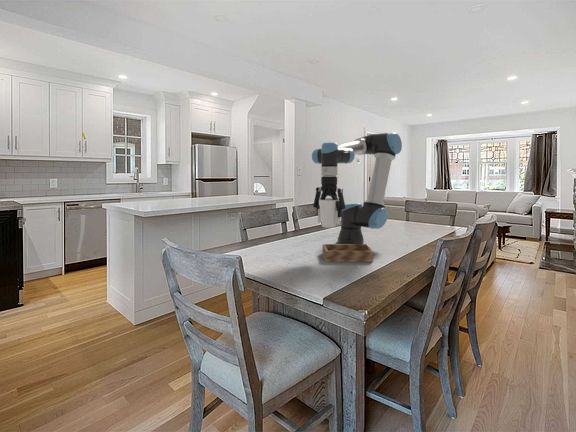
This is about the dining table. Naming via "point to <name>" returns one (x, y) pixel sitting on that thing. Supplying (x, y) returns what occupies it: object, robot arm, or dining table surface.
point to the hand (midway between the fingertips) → (328, 223)
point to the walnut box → (347, 253)
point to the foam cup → (328, 212)
